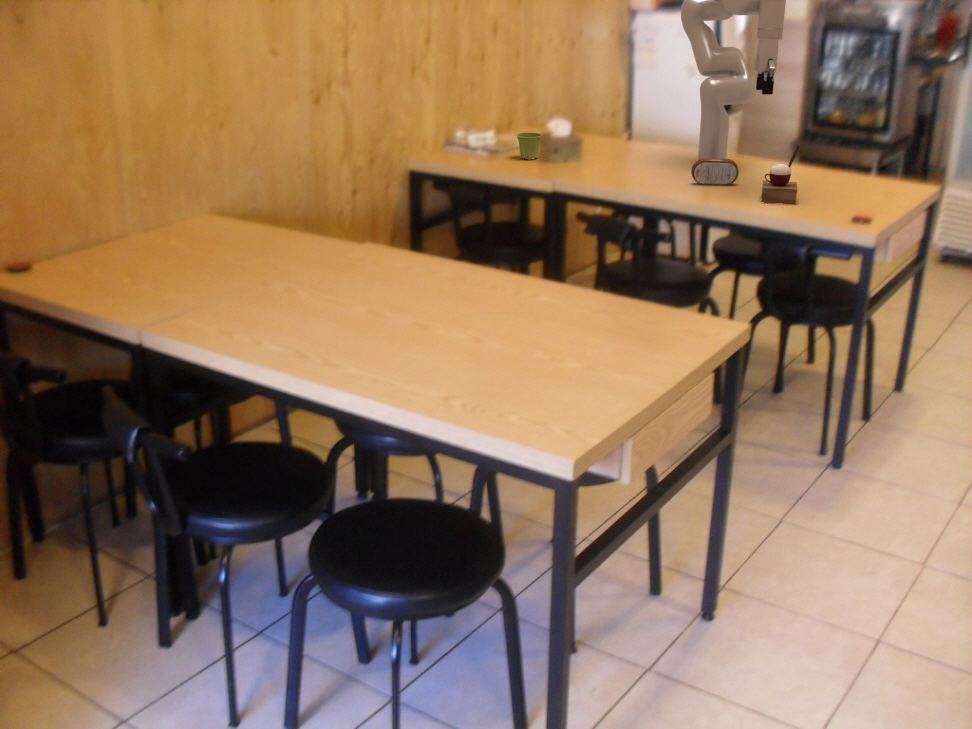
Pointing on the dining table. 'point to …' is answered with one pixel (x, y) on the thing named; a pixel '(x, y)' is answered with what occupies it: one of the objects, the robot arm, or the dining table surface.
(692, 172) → the tin
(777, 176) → the cocoa
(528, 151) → the plant pot
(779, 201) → the walnut block
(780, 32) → the robot arm
